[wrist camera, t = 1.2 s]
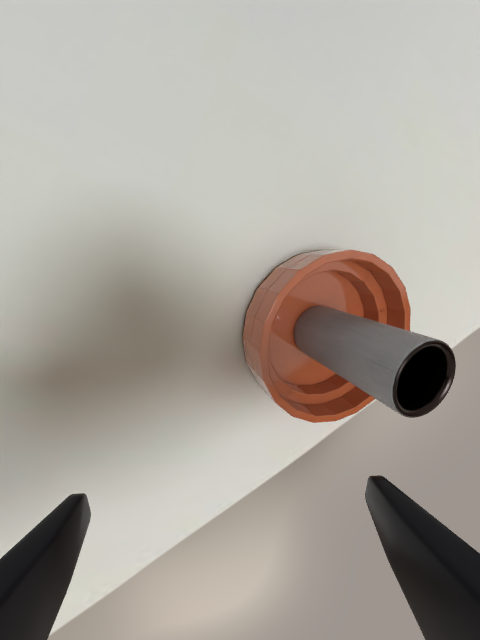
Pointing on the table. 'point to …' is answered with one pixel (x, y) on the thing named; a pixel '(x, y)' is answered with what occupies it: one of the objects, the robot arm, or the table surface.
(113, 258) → the table surface
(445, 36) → the table surface
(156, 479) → the table surface
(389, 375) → the grey hollow cylinder
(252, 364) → the bowl
